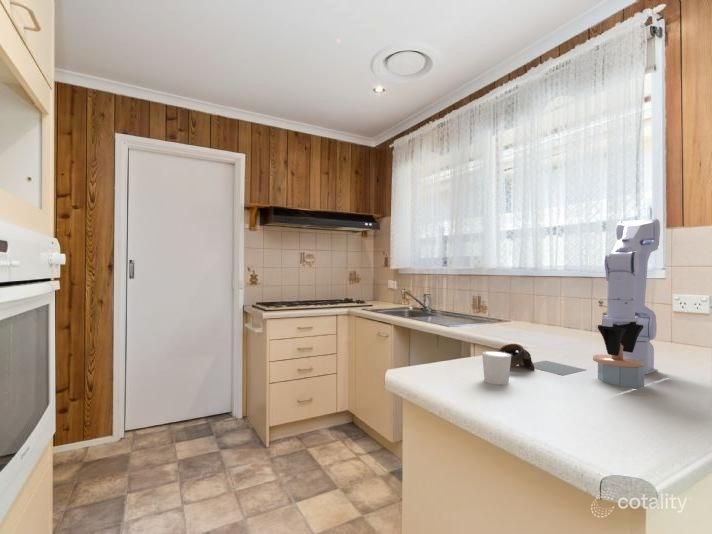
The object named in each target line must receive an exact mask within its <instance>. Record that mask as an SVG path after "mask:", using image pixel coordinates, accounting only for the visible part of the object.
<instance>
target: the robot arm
mask: <svg viewBox="0 0 712 534" xmlns="http://www.w3.org/2000/svg"><path fill="white" fill-rule="evenodd" d="M615 231H616V239H617V241H616V243H615V245H614V246H613V248H612V251H611V252H609V254H608V253H607V254H605V256H604V271H605V280H606V281H607V287H606V288H607V297H606V298H607V301H606V302H607V304H606V305H607V307H606V311H607V313H606V314H604V315H602V316H601V317H602V318H601V324H598V325H597V330H598V331H599V333H600V334H601V337H602V339H603V341H604V345H605V349H606V353H607V355H614V356H618V355H619V352H620V345H623V356H624V357H630V358H634V359H638V360H640V361H642V362H643V366H644V375H647V374H650V373H655V372H658V370H659V369H657V368H654V367H655V348H654V345H653V344H652V342H651V341H653V340H655V339H656V336H657V315H656V313H655V311H653V310H652V309H651V308H649V307H648V306H646V305H645V304H646V289H647V281H648V280H647V278H648V277H647V276H648V267H649V259H650V257H651V253H652V252H655V251H657V250H659V246H660V236H661V235H660V234H661V222H660V220H659V219H658V218H654V219H652V218H650V219H639V220H625V221H624V220H623V221H622V220H619V221H618V222H617V224H616V230H615Z"/></svg>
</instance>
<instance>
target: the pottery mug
mask: <svg viewBox="0 0 712 534" xmlns="http://www.w3.org/2000/svg"><path fill="white" fill-rule="evenodd" d="M497 351H499V352H505V353H508V354H511V363H510V368H511V367H516V366H519V367H525V368H530V369H531V370H532V371H535V369H534V364H533V363H534V362H533V361H532V357H531V356H532V355H531V353H530V352H529V351H528V350H527V349H525V348H524V347H523V345H521V344H518V343H510V344H505V345H503V346H501V347H500V348H499V349H498V350H497ZM517 351H518V352H517Z"/></svg>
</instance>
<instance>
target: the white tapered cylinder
mask: <svg viewBox="0 0 712 534" xmlns="http://www.w3.org/2000/svg"><path fill="white" fill-rule="evenodd" d="M481 355H482V365H483V366H482V367H483V368H482V369H483V378H484V380H483V381H484V382H486V383H488V384H491V383H492V384H493V385H496V384H505V385H508V384H509V380H510V379H509V378H510V372H511V367H510V363H511V354H508V353H505V352H499V351H498V350H497V351H496V350H486V351H483V352H481ZM507 383H508V384H507Z"/></svg>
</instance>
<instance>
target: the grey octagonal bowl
mask: <svg viewBox="0 0 712 534" xmlns="http://www.w3.org/2000/svg"><path fill="white" fill-rule="evenodd" d="M597 379H598V380H599V381H602V382H603V383H605V384H610V385H613V386H618V387H624V388H625V387H627V388H633V390H638V389H641V388H644V387H645V374H644V366H643V367H640V368H626V367H617V366H611V365H606V364H601V363H598V362H597Z"/></svg>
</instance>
